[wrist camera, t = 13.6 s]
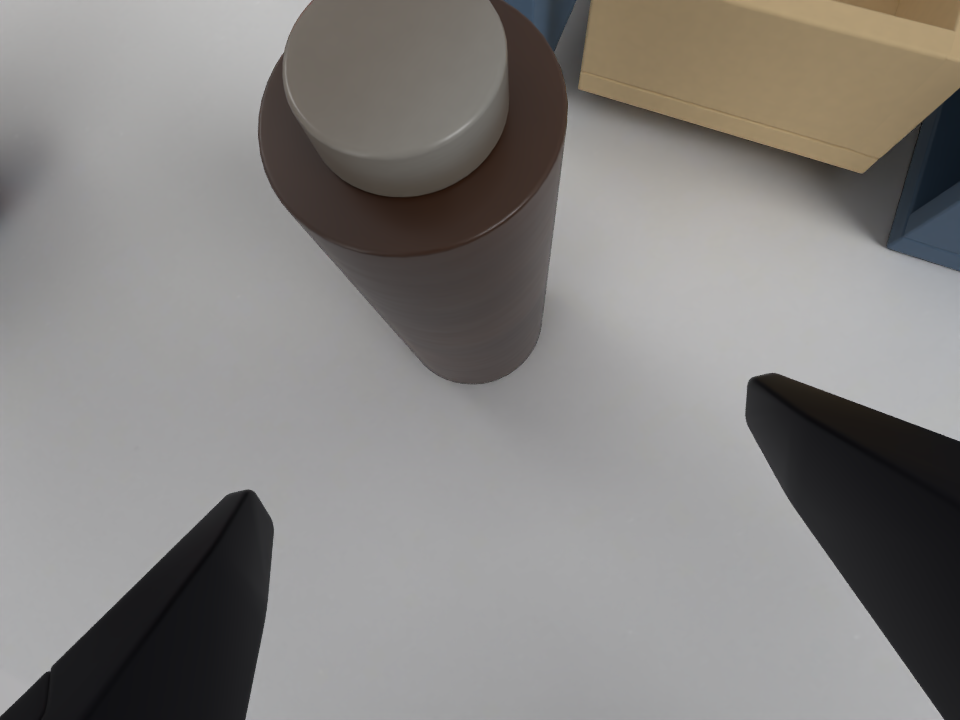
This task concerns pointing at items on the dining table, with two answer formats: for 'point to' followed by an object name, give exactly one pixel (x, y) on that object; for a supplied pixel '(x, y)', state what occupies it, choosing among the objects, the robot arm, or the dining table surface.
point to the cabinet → (932, 191)
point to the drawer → (773, 66)
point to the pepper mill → (425, 167)
